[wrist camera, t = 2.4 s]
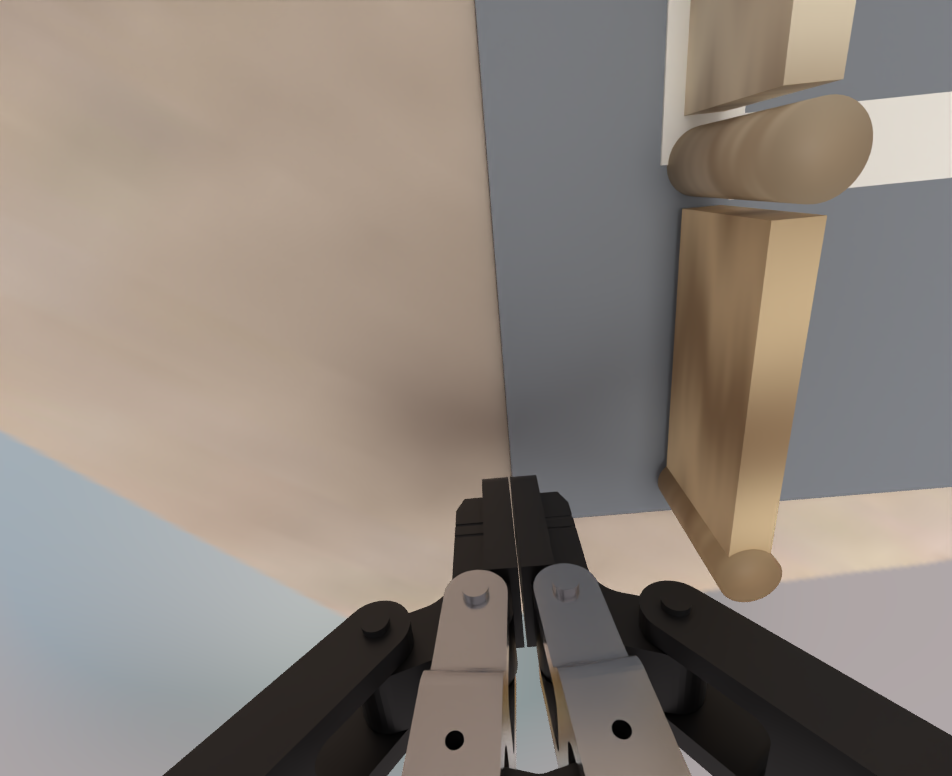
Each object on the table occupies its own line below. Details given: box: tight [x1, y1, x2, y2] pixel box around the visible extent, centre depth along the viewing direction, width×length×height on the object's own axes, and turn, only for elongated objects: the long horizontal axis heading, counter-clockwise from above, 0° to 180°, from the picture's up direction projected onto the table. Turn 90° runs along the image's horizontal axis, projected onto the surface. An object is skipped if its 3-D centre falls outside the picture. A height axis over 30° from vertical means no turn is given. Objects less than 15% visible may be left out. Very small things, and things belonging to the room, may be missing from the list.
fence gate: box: [658, 205, 827, 602], centre depth 15 cm, size 11×2×5 cm, turn 5°
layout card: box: [475, 0, 952, 518], centre depth 15 cm, size 26×21×1 cm
